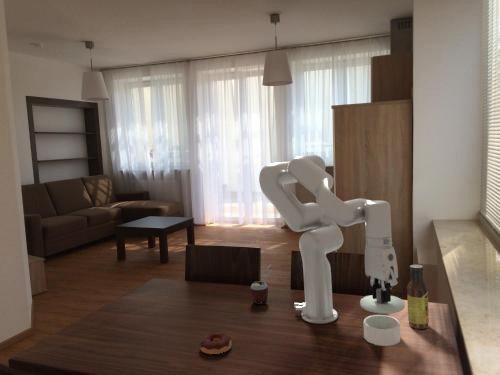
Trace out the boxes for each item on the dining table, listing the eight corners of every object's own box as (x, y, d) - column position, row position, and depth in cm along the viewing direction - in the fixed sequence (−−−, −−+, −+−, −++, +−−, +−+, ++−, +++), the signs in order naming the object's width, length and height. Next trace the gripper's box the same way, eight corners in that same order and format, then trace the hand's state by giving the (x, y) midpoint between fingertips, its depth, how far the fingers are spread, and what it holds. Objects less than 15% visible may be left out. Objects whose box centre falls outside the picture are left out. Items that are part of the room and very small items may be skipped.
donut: (194, 348, 129) (193, 336, 129) (220, 338, 135) (219, 326, 135) (211, 360, 121) (210, 347, 121) (238, 349, 127) (237, 336, 126)
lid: (358, 312, 123) (357, 295, 122) (362, 296, 135) (361, 281, 134) (404, 315, 118) (404, 298, 117) (404, 298, 130) (403, 283, 130)
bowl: (362, 343, 125) (362, 327, 124) (366, 328, 134) (365, 313, 134) (399, 347, 121) (399, 331, 120) (400, 331, 130) (400, 316, 130)
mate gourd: (248, 304, 161) (245, 267, 160) (258, 297, 168) (255, 262, 166) (264, 307, 157) (261, 269, 156) (274, 300, 164) (271, 264, 162)
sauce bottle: (431, 330, 130) (429, 269, 128) (410, 329, 131) (408, 269, 129) (426, 321, 136) (425, 263, 134) (406, 321, 138) (404, 263, 136)
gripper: (408, 244, 118) (411, 305, 120) (370, 235, 133) (373, 290, 135) (388, 248, 115) (391, 311, 117) (351, 238, 130) (354, 294, 132)
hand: (381, 299), depth 126 cm, fingers closed on lid, 3 cm apart
